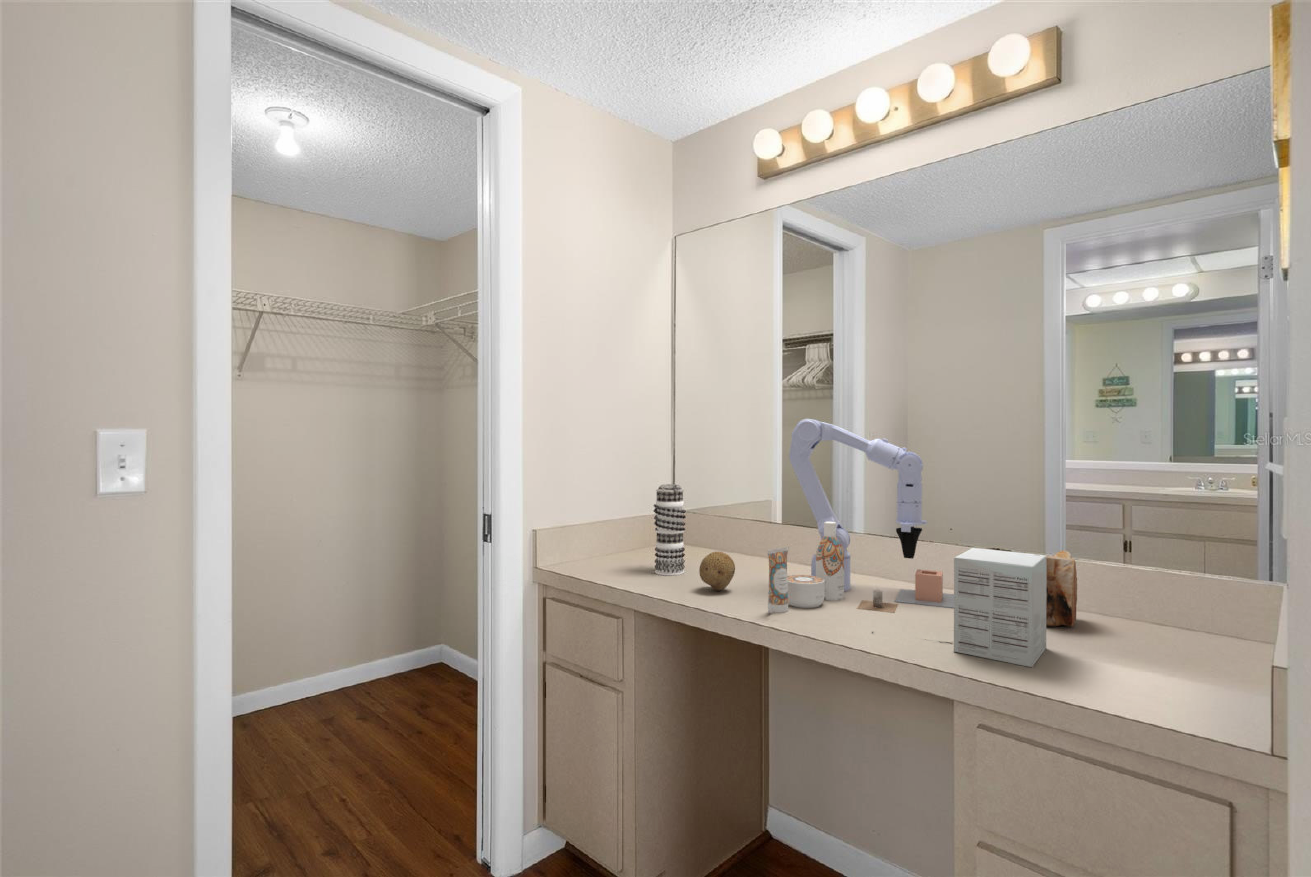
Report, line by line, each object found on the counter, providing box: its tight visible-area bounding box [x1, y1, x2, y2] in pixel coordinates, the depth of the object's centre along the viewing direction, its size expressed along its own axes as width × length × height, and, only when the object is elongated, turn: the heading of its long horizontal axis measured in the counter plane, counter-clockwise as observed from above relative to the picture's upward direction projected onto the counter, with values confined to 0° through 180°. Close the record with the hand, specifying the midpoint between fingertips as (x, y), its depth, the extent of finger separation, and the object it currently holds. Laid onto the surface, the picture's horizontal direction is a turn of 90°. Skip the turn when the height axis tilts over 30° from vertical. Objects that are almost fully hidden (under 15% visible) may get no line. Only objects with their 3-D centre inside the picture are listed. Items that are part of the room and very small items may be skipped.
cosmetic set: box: [767, 522, 845, 615], centre depth 153 cm, size 25×9×19 cm, turn 128°
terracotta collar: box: [914, 569, 944, 602], centre depth 157 cm, size 6×6×6 cm
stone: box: [1045, 550, 1078, 628], centre depth 139 cm, size 14×9×15 cm, turn 127°
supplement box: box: [953, 547, 1047, 668], centre depth 123 cm, size 13×13×18 cm
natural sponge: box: [698, 551, 736, 592], centre depth 168 cm, size 9×9×10 cm
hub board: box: [894, 588, 954, 610], centre depth 157 cm, size 14×13×6 cm
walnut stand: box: [856, 589, 899, 614], centre depth 150 cm, size 8×8×4 cm
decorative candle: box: [653, 483, 687, 576], centre depth 190 cm, size 9×9×25 cm
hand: (908, 557), depth 162 cm, fingers closed
